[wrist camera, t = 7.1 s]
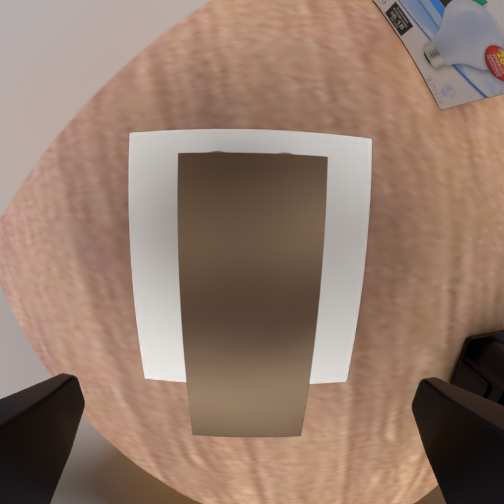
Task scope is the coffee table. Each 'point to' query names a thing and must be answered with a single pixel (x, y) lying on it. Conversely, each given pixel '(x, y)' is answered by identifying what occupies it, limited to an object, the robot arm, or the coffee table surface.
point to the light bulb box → (453, 45)
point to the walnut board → (249, 287)
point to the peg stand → (166, 238)
